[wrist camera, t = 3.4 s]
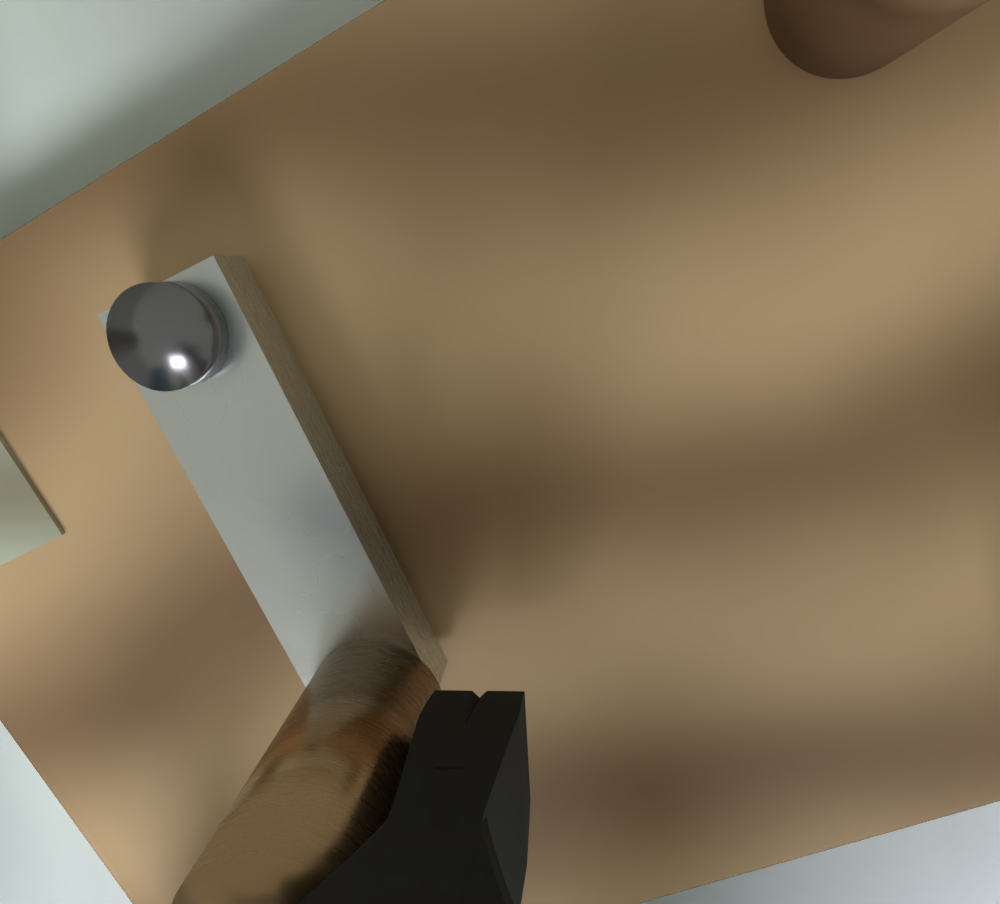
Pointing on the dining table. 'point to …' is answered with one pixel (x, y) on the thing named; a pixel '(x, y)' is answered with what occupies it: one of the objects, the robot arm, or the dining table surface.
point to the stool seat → (555, 424)
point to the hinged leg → (284, 578)
